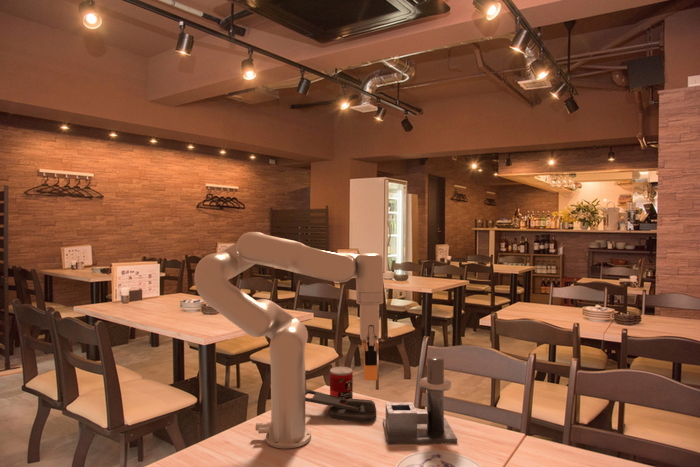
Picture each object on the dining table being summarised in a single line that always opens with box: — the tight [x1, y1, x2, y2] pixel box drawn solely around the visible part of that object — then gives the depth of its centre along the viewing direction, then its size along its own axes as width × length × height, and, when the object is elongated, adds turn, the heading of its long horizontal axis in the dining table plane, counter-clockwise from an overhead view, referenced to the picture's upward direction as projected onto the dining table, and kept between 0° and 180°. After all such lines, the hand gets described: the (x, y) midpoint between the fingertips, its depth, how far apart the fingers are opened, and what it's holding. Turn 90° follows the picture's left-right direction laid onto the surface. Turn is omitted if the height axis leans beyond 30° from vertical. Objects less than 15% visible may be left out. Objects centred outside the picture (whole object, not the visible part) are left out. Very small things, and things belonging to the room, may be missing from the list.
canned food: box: [329, 366, 354, 404], centre depth 157 cm, size 8×8×11 cm
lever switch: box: [382, 356, 458, 445], centre depth 133 cm, size 19×14×21 cm
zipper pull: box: [305, 388, 377, 424], centre depth 146 cm, size 9×7×25 cm
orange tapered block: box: [361, 339, 380, 381], centre depth 129 cm, size 4×3×10 cm
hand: (370, 362), depth 129 cm, fingers closed on orange tapered block, 2 cm apart
